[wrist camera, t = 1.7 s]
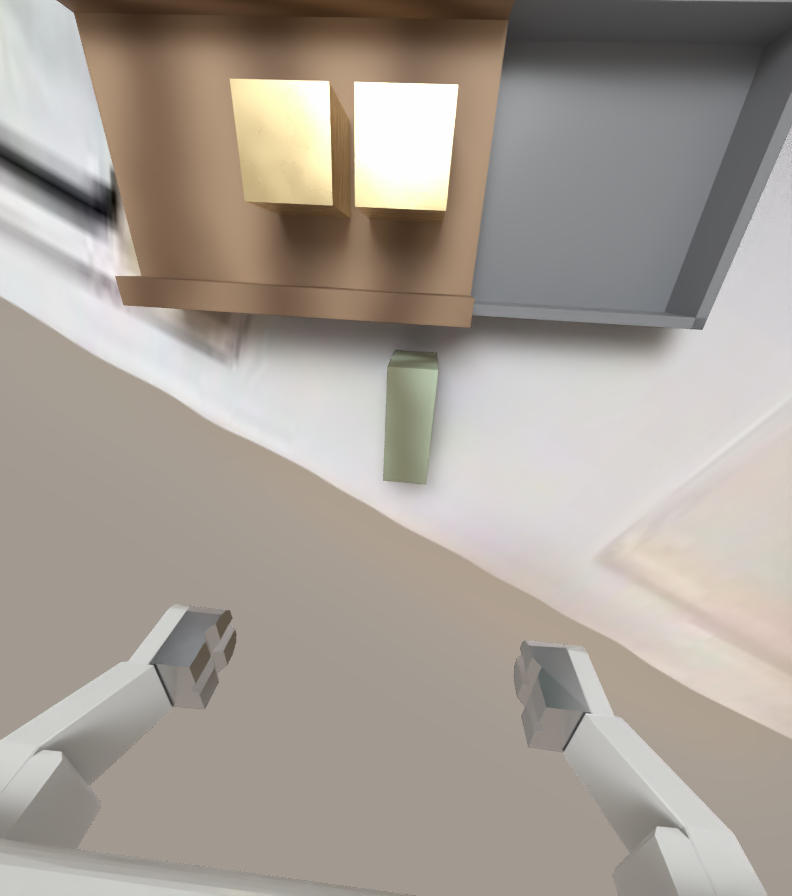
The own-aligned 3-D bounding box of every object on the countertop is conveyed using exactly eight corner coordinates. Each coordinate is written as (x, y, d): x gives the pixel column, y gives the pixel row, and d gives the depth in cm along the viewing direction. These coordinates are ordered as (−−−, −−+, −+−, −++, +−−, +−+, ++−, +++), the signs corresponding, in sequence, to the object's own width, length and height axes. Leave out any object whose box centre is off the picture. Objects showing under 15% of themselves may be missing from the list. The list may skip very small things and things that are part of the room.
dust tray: (775, 34, 17) (855, -21, 13) (664, 321, 22) (702, 329, 19) (500, 29, 17) (515, -24, 14) (463, 309, 23) (468, 315, 20)
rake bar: (436, 352, 25) (438, 370, 20) (426, 451, 28) (426, 484, 24) (395, 349, 25) (387, 366, 20) (390, 448, 29) (383, 480, 24)
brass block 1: (350, 121, 17) (328, 81, 13) (350, 218, 19) (332, 205, 15) (270, 118, 17) (229, 78, 14) (279, 214, 19) (244, 201, 15)
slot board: (502, 15, 17) (527, -76, 13) (462, 317, 23) (470, 327, 19) (115, 9, 18) (13, -77, 14) (179, 299, 24) (123, 305, 20)
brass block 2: (452, 124, 17) (458, 84, 13) (442, 222, 19) (445, 210, 15) (370, 122, 17) (354, 82, 13) (368, 218, 19) (354, 206, 15)
